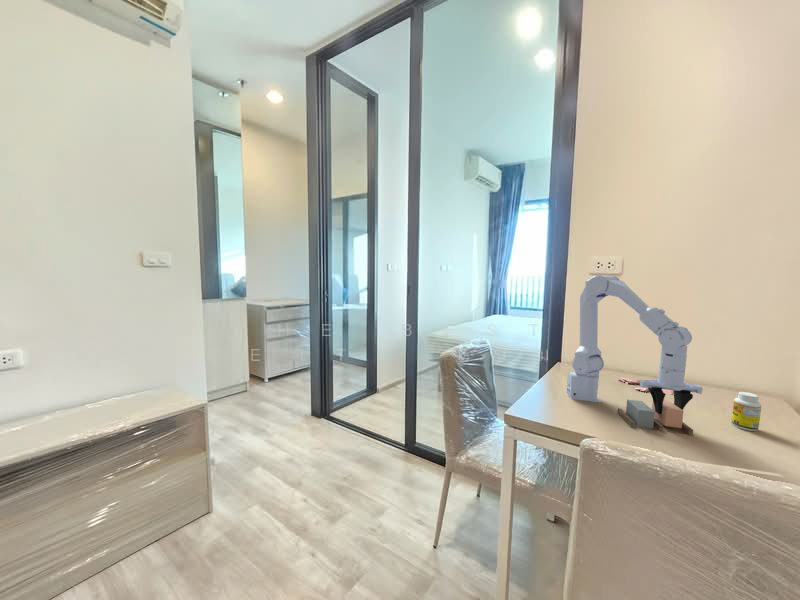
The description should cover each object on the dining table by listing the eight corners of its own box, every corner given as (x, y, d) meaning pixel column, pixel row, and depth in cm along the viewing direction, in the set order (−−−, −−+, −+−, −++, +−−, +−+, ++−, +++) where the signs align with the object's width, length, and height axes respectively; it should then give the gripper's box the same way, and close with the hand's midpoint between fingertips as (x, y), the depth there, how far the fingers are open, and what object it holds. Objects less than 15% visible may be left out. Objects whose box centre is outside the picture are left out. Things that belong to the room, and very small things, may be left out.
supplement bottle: (729, 421, 101) (733, 389, 100) (756, 427, 97) (760, 394, 96) (732, 427, 96) (736, 394, 96) (759, 434, 93) (764, 399, 92)
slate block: (637, 426, 94) (638, 409, 94) (625, 415, 102) (627, 399, 102) (653, 428, 93) (654, 411, 93) (640, 416, 101) (641, 401, 101)
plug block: (665, 425, 93) (666, 408, 92) (651, 414, 101) (652, 398, 100) (681, 428, 92) (683, 410, 91) (666, 416, 100) (668, 400, 99)
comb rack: (630, 428, 94) (631, 422, 94) (617, 414, 104) (617, 408, 103) (692, 436, 90) (693, 429, 90) (672, 421, 100) (673, 414, 100)
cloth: (690, 398, 121) (691, 392, 121) (630, 396, 121) (631, 390, 121) (649, 380, 141) (650, 374, 141) (598, 378, 142) (599, 373, 141)
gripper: (649, 369, 92) (645, 416, 94) (711, 375, 89) (705, 423, 90) (638, 363, 99) (634, 406, 100) (695, 368, 95) (690, 412, 97)
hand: (667, 413), depth 96 cm, fingers closed on plug block, 4 cm apart
